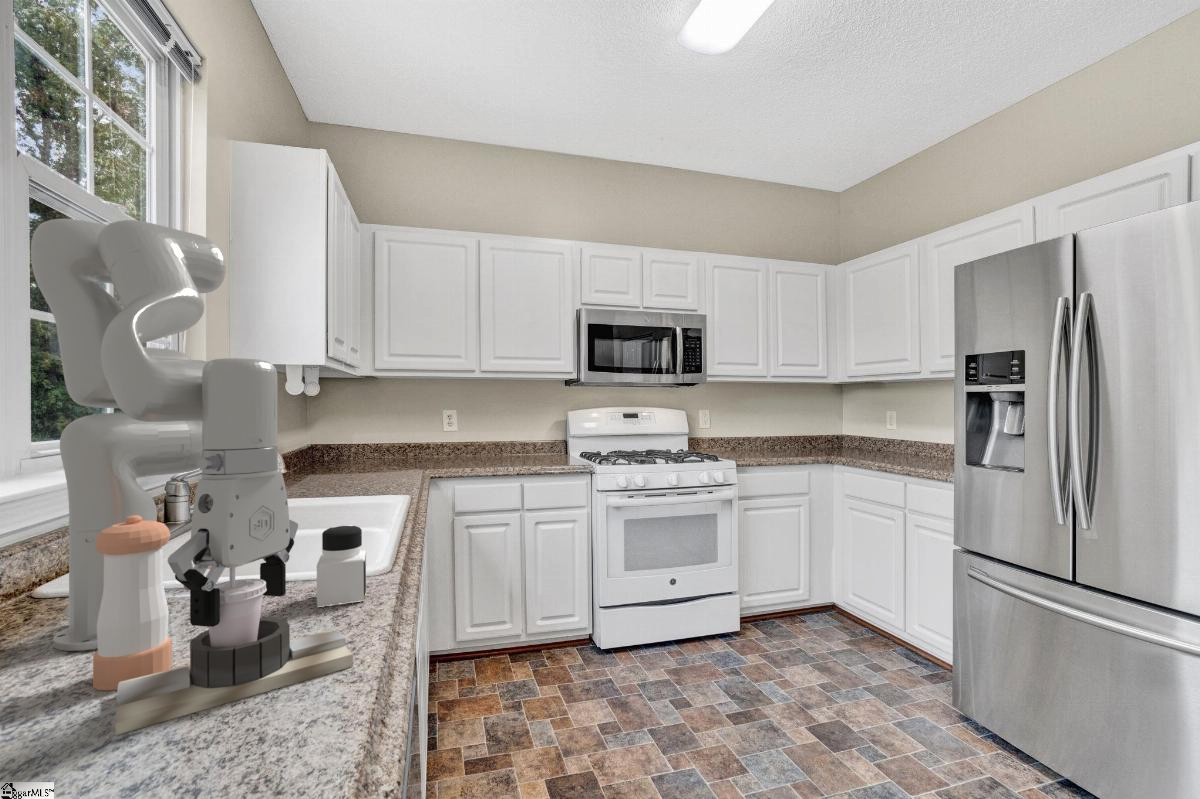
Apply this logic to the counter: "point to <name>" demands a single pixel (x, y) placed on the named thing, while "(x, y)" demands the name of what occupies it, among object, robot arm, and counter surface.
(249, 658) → the socket rail
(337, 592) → the medicine bottle
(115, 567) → the pepper shaker
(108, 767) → the counter surface
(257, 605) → the smoothie
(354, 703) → the counter surface
